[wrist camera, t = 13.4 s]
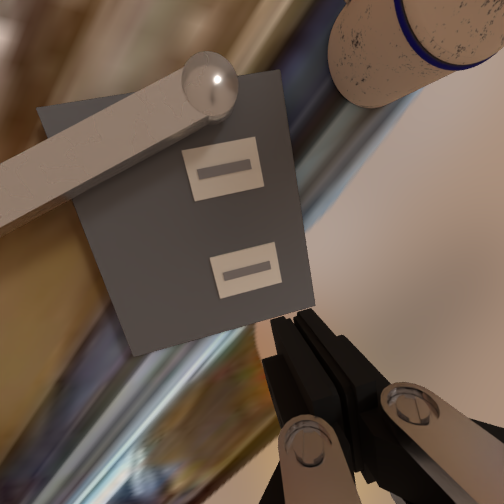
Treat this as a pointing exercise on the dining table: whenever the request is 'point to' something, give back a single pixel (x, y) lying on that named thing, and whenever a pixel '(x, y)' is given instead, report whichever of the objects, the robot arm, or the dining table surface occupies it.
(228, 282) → the tray
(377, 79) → the teacup with lid
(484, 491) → the robot arm
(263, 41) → the dining table surface
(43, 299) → the dining table surface
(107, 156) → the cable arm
